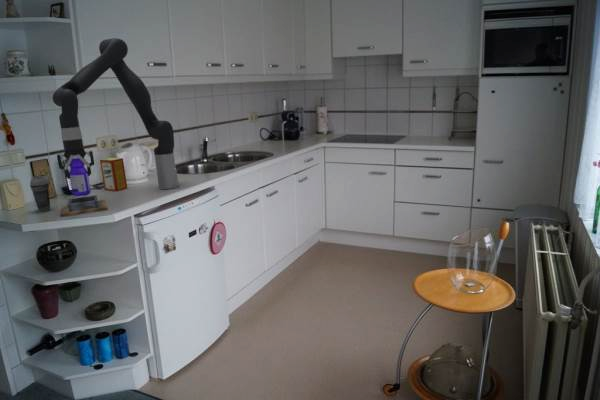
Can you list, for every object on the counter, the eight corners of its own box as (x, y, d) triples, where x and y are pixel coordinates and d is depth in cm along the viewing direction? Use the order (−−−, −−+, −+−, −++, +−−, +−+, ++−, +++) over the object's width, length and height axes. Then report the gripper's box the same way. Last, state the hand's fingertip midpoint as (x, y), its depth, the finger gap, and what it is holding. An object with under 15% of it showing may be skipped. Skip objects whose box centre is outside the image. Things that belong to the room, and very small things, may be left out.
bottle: (93, 192, 208) (86, 153, 204) (88, 196, 203) (81, 155, 198) (76, 194, 208) (69, 154, 204) (70, 197, 203) (63, 156, 198)
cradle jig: (105, 202, 217) (104, 193, 216) (107, 209, 203) (106, 200, 202) (62, 208, 211) (60, 199, 210) (60, 216, 196) (58, 207, 195)
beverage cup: (44, 208, 213) (35, 163, 208) (57, 208, 211) (49, 163, 206) (31, 212, 206) (21, 166, 202) (44, 213, 204) (35, 166, 199)
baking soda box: (104, 190, 244) (99, 159, 240) (115, 187, 249) (110, 156, 245) (116, 191, 239) (111, 159, 235) (127, 188, 244) (122, 157, 240)
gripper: (90, 135, 205) (96, 173, 210) (53, 139, 200) (60, 177, 204) (90, 137, 199) (97, 176, 203) (52, 141, 193) (60, 180, 197)
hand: (79, 176), depth 203 cm, fingers closed on bottle, 7 cm apart
